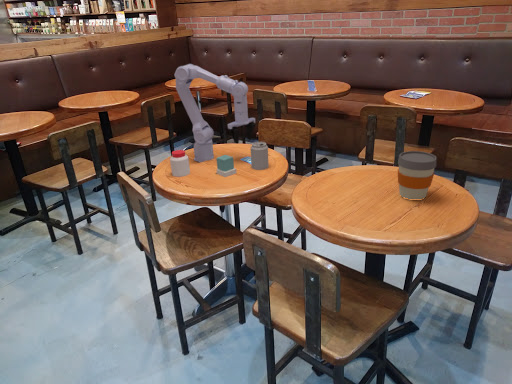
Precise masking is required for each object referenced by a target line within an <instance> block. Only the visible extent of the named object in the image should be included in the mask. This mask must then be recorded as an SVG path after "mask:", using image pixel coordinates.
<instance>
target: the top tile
mask: <svg viewBox="0 0 512 384" xmlns="http://www.w3.org/2000/svg"><path fill="white" fill-rule="evenodd" d="M216 173H217V174H216V175H219V176H221V177H224V178H228V177H230V176H233V175H235V174H236V175H237V173H238V172H237V168H235V167H234V168H233V169H231V170H228V171H225V172H224V171H222V170H219V169H216Z"/></svg>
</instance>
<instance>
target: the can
mask: <svg viewBox="0 0 512 384" xmlns="http://www.w3.org/2000/svg"><path fill="white" fill-rule="evenodd" d="M250 161H251V169H252V170H256V171H262V170H263V171H264V170H266V169H268V168H269V146H268V145H267V143H266V142H264V141H255V142H252V143H251V146H250Z"/></svg>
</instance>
